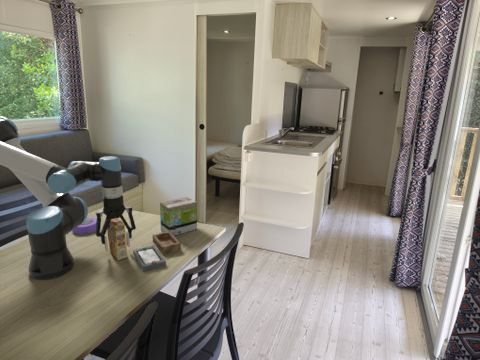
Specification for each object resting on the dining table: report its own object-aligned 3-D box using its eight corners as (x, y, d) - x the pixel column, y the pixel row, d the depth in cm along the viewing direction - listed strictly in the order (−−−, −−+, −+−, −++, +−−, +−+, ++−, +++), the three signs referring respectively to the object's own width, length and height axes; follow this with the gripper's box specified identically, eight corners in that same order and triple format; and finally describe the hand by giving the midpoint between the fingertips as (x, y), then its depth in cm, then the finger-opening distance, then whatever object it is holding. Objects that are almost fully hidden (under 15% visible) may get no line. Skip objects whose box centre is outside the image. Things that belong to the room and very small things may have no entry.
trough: (162, 254, 139) (162, 247, 138) (152, 241, 150) (152, 234, 149) (180, 250, 143) (180, 243, 142) (169, 238, 154) (169, 231, 153)
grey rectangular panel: (145, 266, 129) (145, 264, 129) (138, 254, 138) (137, 251, 138) (160, 262, 132) (160, 260, 132) (152, 251, 141) (152, 248, 141)
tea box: (170, 238, 155) (169, 208, 151) (160, 230, 162) (159, 202, 158) (197, 229, 164) (197, 201, 160) (187, 223, 171) (186, 195, 167)
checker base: (143, 271, 127) (142, 265, 126) (133, 254, 139) (132, 248, 138) (166, 265, 131) (165, 259, 131) (154, 249, 144) (154, 243, 143)
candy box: (128, 257, 137) (125, 222, 133) (118, 260, 134) (114, 225, 130) (118, 249, 143) (115, 216, 139) (108, 252, 140) (105, 219, 136)
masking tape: (74, 225, 166) (73, 218, 165) (99, 223, 169) (98, 216, 168) (70, 235, 155) (69, 228, 154) (97, 233, 158) (96, 225, 157)
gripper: (85, 203, 123) (91, 258, 129) (142, 194, 133) (145, 246, 140) (82, 197, 129) (89, 249, 135) (137, 189, 139) (140, 238, 146)
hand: (117, 247), depth 138 cm, fingers open, 8 cm apart
